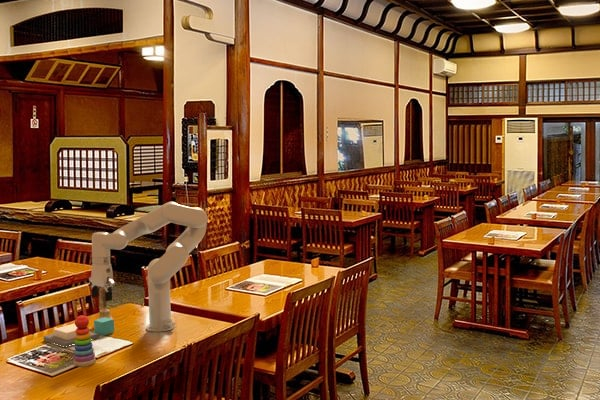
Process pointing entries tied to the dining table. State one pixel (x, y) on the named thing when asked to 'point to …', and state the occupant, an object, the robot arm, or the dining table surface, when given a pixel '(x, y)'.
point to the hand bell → (104, 307)
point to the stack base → (66, 342)
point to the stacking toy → (83, 343)
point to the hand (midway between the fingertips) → (101, 298)
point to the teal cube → (104, 326)
